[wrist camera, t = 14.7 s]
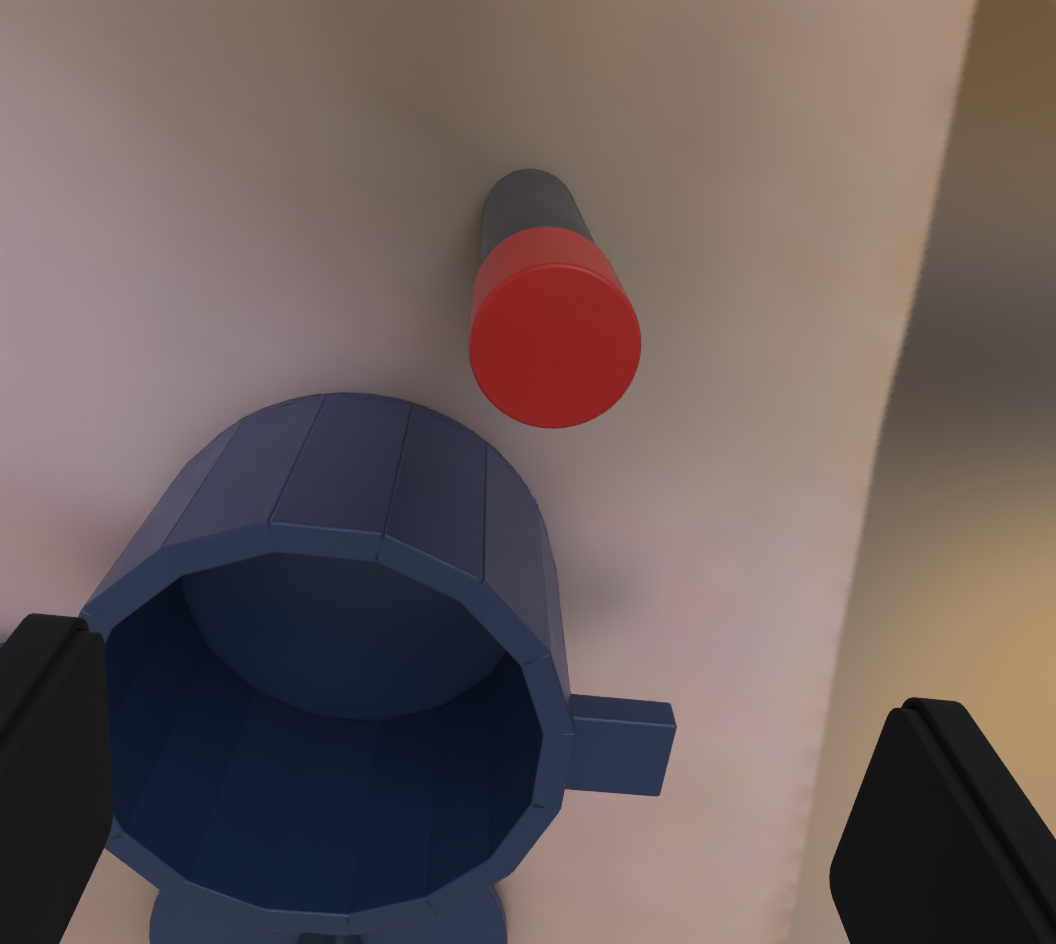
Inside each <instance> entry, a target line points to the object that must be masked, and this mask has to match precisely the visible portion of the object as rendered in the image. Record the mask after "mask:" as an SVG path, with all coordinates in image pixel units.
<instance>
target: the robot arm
mask: <svg viewBox="0 0 1056 944" xmlns="http://www.w3.org/2000/svg"><path fill="white" fill-rule="evenodd" d="M113 813H114V804H113V787H112V769H111V752H110V734H109V717H108V699H107V682H106V664H105V647H104V638H103V636H102V634H101V633H98V632H89V627H88V624H87V622H86V620H85V619H83V618H77V617H67V616H56V615H46V614H35V613H33V614H29V615H28V616H27V617H26V618H24V619H23V621H22V622H21V623H20V624H19V626H18V627H17V628H16V630H15V631H14V632H13V633H12V635H11V636H10V637H9V638H8V640H7V641H6V642H5V644H4V645H3V646H2V647H1V649H0V944H59V943H60V941H61V939H62V937H63V935H64V932H65V930H66V928H67V926H68V924H69V922H70V920H71V917H72V915H73V913H74V911H75V909H76V907H77V905H78V902H79V900H80V898H81V896H82V894H83V892H84V890H85V887H86V885H87V883H88V881H89V879H90V877H91V875H92V872H93V870H94V868H95V866H96V864H97V862H98V860H99V858H100V855H101V853H102V851H103V849H104V847H105V845H106V842H107V840H108V837H109V834H110V830H111V826H112V821H113ZM829 879H830V890H831V894H832V897H833V900H834V903H835V906H836V908H837V911H838V913H839V916H840V918H841V921H842V924H843V926H844V929H845V931H846V934H847V936H848V939H849V941H850V944H1056V839H1055V838H1054V836H1053V835H1052V833H1051V832H1050V830H1049V829H1048V827H1047V826H1046V824H1045V823H1044V822H1043V820H1042V819H1041V817H1040V816H1039V814H1038V813H1037V811H1036V810H1035V808H1034V807H1033V806H1032V804H1031V803H1030V801H1029V800H1028V798H1027V797H1026V795H1025V794H1024V792H1023V791H1022V790H1021V788H1020V787H1019V785H1018V784H1017V782H1016V781H1015V779H1014V778H1013V776H1012V775H1011V774H1010V772H1009V771H1008V769H1007V768H1006V766H1005V765H1004V763H1003V762H1002V761H1001V759H1000V758H999V756H998V755H997V753H996V752H995V750H994V749H993V747H992V746H991V745H990V743H989V742H988V740H987V739H986V737H985V736H984V734H983V733H982V732H981V730H980V729H979V727H978V726H977V724H976V723H975V721H974V720H973V718H972V717H971V716H970V714H969V713H968V711H967V710H966V709H965V707H964V706H963V705H962V704H961V703H958V702H956V701H947V700H936V699H926V698H915V697H913V698H909V699H907V700H906V701H905V702H904V703H903V705H902V707H901V708H894V709H893V710H891V711H890V713H889V714H888V716H887V719H886V721H885V724H884V726H883V729H882V732H881V734H880V737H879V740H878V742H877V745H876V748H875V750H874V753H873V755H872V758H871V761H870V763H869V766H868V768H867V771H866V774H865V776H864V779H863V782H862V784H861V787H860V789H859V792H858V795H857V798H856V800H855V803H854V805H853V808H852V811H851V813H850V816H849V819H848V821H847V824H846V827H845V829H844V832H843V834H842V837H841V840H840V842H839V845H838V847H837V850H836V853H835V855H834V858H833V860H832V864H831V867H830V876H829Z"/></svg>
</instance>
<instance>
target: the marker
mask: <svg viewBox="0 0 1056 944" xmlns="http://www.w3.org/2000/svg"><path fill="white" fill-rule="evenodd" d="M640 353H641V334H640V327H639V323H638V320H637V317H636V314H635V312H634V310H633V307H632V305H631V303H630V301H629V299H628V297H627V295H626V293H625V291H624V289H623V288H622V286H621V284H620V282H619V280H618V278H617V276H616V274H615V272H614V270H613V268H612V266H611V264H610V262H609V261H608V259H607V258H606V256H605V255H604V254H603V252H602V251H601V250H600V249H599V248H598V247H597V246H596V245H595V243H594V241H593V239H592V237H591V235H590V233H589V230H588V228H587V226H586V224H585V222H584V220H583V218H582V216H581V214H580V212H579V210H578V208H577V205H576V203H575V201H574V199H573V197H572V195H571V193H570V192H569V190H568V188H567V187H566V186H565V185H564V184H563V183H562V182H561V181H560V180H559V179H558V178H556V177H555V176H553V175H551V174H549V173H547V172H544V171H541V170H535V169H525V170H519V171H516V172H513V173H511V174H509V175H507V176H505V177H504V178H502V179H501V180H500V181H499V182H498V183H497V184H496V185H495V186H494V187H493V188H492V190H491V191H490V193H489V195H488V197H487V199H486V202H485V205H484V210H483V224H482V241H481V257H480V270H479V272H478V274H477V277H476V280H475V284H474V290H473V300H472V312H471V324H470V337H469V356H470V363H471V367H472V371H473V374H474V376H475V379H476V381H477V383H478V385H479V387H480V388H481V390H482V392H483V393H484V394H485V396H486V397H487V398H488V399H489V401H490V402H491V403H492V404H493V405H494V406H495V407H497V408H498V409H499V410H500V411H502V412H503V413H504V414H506V415H508V416H509V417H511V418H512V419H515V420H517V421H519V422H521V423H524V424H527V425H531V426H535V427H541V428H566V427H571V426H576V425H579V424H582V423H585V422H588V421H590V420H592V419H594V418H596V417H598V416H599V415H601V414H603V413H604V412H606V411H607V410H608V409H609V408H611V407H612V406H613V405H614V404H615V403H616V402H617V401H618V400H619V399H620V398H621V397H622V396H623V394H624V393H625V392H626V390H627V389H628V387H629V385H630V384H631V382H632V380H633V378H634V376H635V373H636V371H637V368H638V364H639V360H640Z"/></svg>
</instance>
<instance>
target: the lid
mask: <svg viewBox="0 0 1056 944" xmlns="http://www.w3.org/2000/svg"><path fill="white" fill-rule="evenodd" d="M149 939H150V944H507V926H506V917H505V913H504V910H503V906H502V903H501V900H500V898H499V896H498V894H497V892H496V890H495V888H494V886H493V885H491V886H490V887H488V888H486V889H485V890H483V891H481V892H480V893H478V894H476V895H474V896H473V897H471V898H469V899H468V900H466V901H464V902H463V903H461V904H459V905H457V906H456V907H454V908H452V909H451V910H449V911H447V912H446V913H444V914H442V915H438V916H437V917H434V918H429V919H425V920H420V921H415V922H411V923H406V924H402V925H397V926H392V927H388V928H383V929H379V930H374V931H370V932H365V933H360V934H356V935H352V934H351V935H334V934H319V933H304V932H288V931H273V930H261V929H255V928H252V927H249V926H246V925H243V924H240V923H238V922H235V921H232V920H229V919H226V918H224V917H221V916H218V915H215V914H212V913H210V912H207V911H204V910H201V909H198V908H195V907H193V906H190V905H187V904H184V903H181V902H179V901H176V900H173V899H171V897H169V896H168V895H166V894H165V893H164V892H162V891H161V890H160V891H159V893H158V895H157V898H156V901H155V903H154V907H153V911H152V915H151V919H150V932H149Z"/></svg>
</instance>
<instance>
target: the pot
mask: <svg viewBox="0 0 1056 944" xmlns="http://www.w3.org/2000/svg"><path fill="white" fill-rule="evenodd" d="M78 618H83V619H85V620H86V622H87V624H88V627H89V632H98V633H101V634H102V636H103V638H104V647H105V664H106V682H107V699H108V717H109V734H110V752H111V769H112V787H113V804H114V813H113V821H112V826H111V830H110V834H109V837H108V840H107V842H106V845H105V847H104V848H105V849H107V850H108V851H109V852H111V853H112V854H113V855H115V856H116V857H117V858H119V859H120V860H121V861H122V862H124V863H125V864H126V865H128V866H129V867H130V868H132V869H133V870H134V871H136V872H137V873H138V874H140V875H141V876H142V877H144V878H145V879H146V880H148V881H149V882H150V883H152V884H153V885H154V886H156V887H157V888H158V889H160V890H161V891H162V892H164V893H165V894H166V895H168V896H169V897H171V899H173V900H176V901H179V902H181V903H184V904H187V905H190V906H193V907H195V908H198V909H201V910H204V911H207V912H210V913H212V914H215V915H218V916H221V917H224V918H226V919H229V920H232V921H235V922H238V923H240V924H243V925H246V926H249V927H252V928H255V929H261V930H273V931H288V932H304V933H319V934H334V935H351V934H352V935H356V934H360V933H365V932H370V931H374V930H379V929H383V928H388V927H392V926H397V925H402V924H406V923H411V922H415V921H420V920H425V919H429V918H434V917H437V916H438V915H442V914H444V913H446V912H447V911H449V910H451V909H452V908H454V907H456V906H457V905H459V904H461V903H463V902H464V901H466V900H468V899H469V898H471V897H473V896H474V895H476V894H478V893H480V892H481V891H483V890H485V889H486V888H488V887H490V886H491V885H493V884H495V883H497V882H498V881H500V880H502V879H503V878H505V877H507V876H508V875H510V874H511V873H512V872H513V871H514V870H515V869H516V867H517V866H518V865H519V864H520V862H521V861H522V860H523V858H524V857H525V856H526V854H527V853H528V852H529V851H530V849H531V848H532V847H533V845H534V844H535V843H536V841H537V840H538V839H539V837H540V836H541V835H542V834H543V832H544V831H545V830H546V828H547V827H548V826H549V824H550V823H551V822H552V821H553V819H554V818H555V817H556V815H557V814H558V813H559V810H560V809H561V806H562V801H563V796H564V791H565V789H571V790H583V791H596V792H608V793H621V794H633V795H646V796H659V795H660V792H661V788H662V784H663V780H664V776H665V772H666V768H667V764H668V760H669V756H670V752H671V748H672V744H673V740H674V736H675V732H676V728H677V726H676V722H675V718H674V714H673V711H672V707H671V704H670V703H667V702H656V701H644V700H633V699H622V698H611V697H599V696H588V695H577V694H571V692H570V684H569V675H568V666H567V658H566V649H565V640H564V632H563V623H562V615H561V606H560V597H559V589H558V580H557V572H556V565H555V562H554V559H553V555H552V552H551V548H550V544H549V539H548V535H547V530H546V527H545V524H544V521H543V519H542V516H541V513H540V511H539V507H538V504H537V503H536V500H535V499H534V498H533V496H532V495H531V493H530V491H529V489H528V488H527V486H526V484H525V483H524V482H523V480H522V479H521V478H520V476H519V475H518V474H517V472H516V471H515V470H514V468H513V467H512V466H511V465H510V464H509V463H508V462H507V461H506V460H505V459H504V458H503V456H502V455H501V454H500V453H499V452H498V451H497V450H496V449H495V448H494V447H492V446H491V445H490V444H489V443H487V442H486V441H485V440H483V439H482V438H481V437H480V436H478V435H477V434H476V433H475V432H473V431H471V430H470V429H468V428H466V427H465V426H463V425H461V424H460V423H458V422H456V421H455V420H453V419H451V418H450V417H447V416H445V415H443V414H441V413H438V412H436V411H434V410H431V409H429V408H427V407H424V406H421V405H418V404H414V403H411V402H408V401H405V400H401V399H397V398H392V397H386V396H380V395H374V394H362V393H330V394H316V395H311V396H306V397H301V398H296V399H291V400H287V401H284V402H281V403H278V404H275V405H272V406H269V407H266V408H264V409H261V410H259V411H257V412H255V413H253V414H251V415H249V416H247V417H245V418H243V419H241V420H240V421H238V422H237V423H235V424H234V425H232V426H231V427H229V428H228V429H226V430H225V431H223V432H222V433H221V434H219V435H218V436H217V437H216V438H215V439H214V440H213V441H212V442H210V443H209V444H208V445H207V446H206V447H205V448H204V449H203V450H202V451H201V452H200V453H199V454H198V455H196V456H195V457H194V458H193V459H191V460H190V461H189V462H187V463H186V465H185V466H184V467H183V469H182V470H181V471H180V473H179V474H178V476H177V477H176V478H175V480H174V481H173V483H172V484H171V485H170V487H169V488H168V490H167V491H166V492H165V494H164V495H163V497H162V498H161V499H160V501H159V502H158V504H157V505H156V506H155V508H154V509H153V511H152V512H151V513H150V515H149V516H148V517H147V519H146V520H145V522H144V523H143V524H142V526H141V527H140V529H139V530H138V531H137V533H136V534H135V536H134V537H133V538H132V540H131V541H130V543H129V544H128V545H127V547H126V548H125V550H124V551H123V552H122V554H121V555H120V557H119V558H118V559H117V561H116V562H115V564H114V565H113V566H112V568H111V569H110V571H109V572H108V573H107V575H106V576H105V578H104V579H103V580H102V582H101V583H100V584H99V586H98V587H97V589H96V590H95V591H94V593H93V594H92V596H91V597H90V598H89V600H88V601H87V603H86V604H85V605H84V607H83V608H82V610H81V612H80V614H79V616H78ZM4 644H5V643H0V649H1V647H2V646H3V645H4Z"/></svg>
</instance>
